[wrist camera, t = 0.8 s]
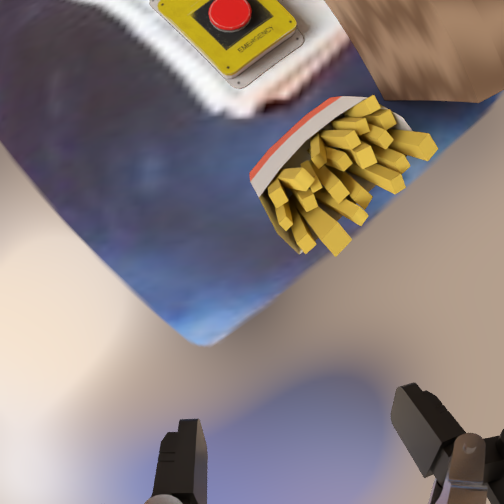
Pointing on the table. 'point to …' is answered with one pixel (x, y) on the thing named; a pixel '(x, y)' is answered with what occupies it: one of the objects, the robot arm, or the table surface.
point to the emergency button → (234, 33)
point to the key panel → (428, 46)
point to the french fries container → (334, 169)
